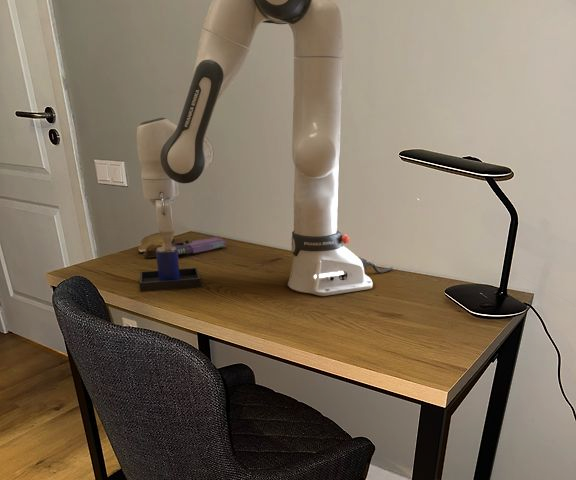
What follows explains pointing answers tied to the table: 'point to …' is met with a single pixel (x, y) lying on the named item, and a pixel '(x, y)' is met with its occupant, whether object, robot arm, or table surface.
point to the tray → (187, 280)
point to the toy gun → (198, 245)
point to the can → (167, 264)
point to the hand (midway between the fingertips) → (167, 244)
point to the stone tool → (152, 244)
